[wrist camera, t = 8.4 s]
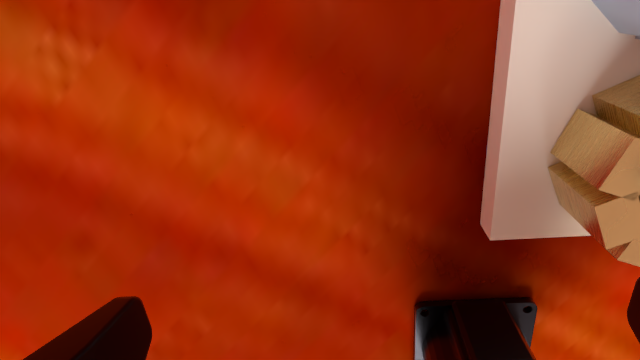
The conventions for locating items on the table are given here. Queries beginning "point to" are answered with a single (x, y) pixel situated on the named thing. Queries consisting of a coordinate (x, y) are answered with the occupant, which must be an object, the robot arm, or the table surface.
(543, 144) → the gear board
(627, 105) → the brass gear
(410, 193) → the table surface
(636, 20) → the slate gear
